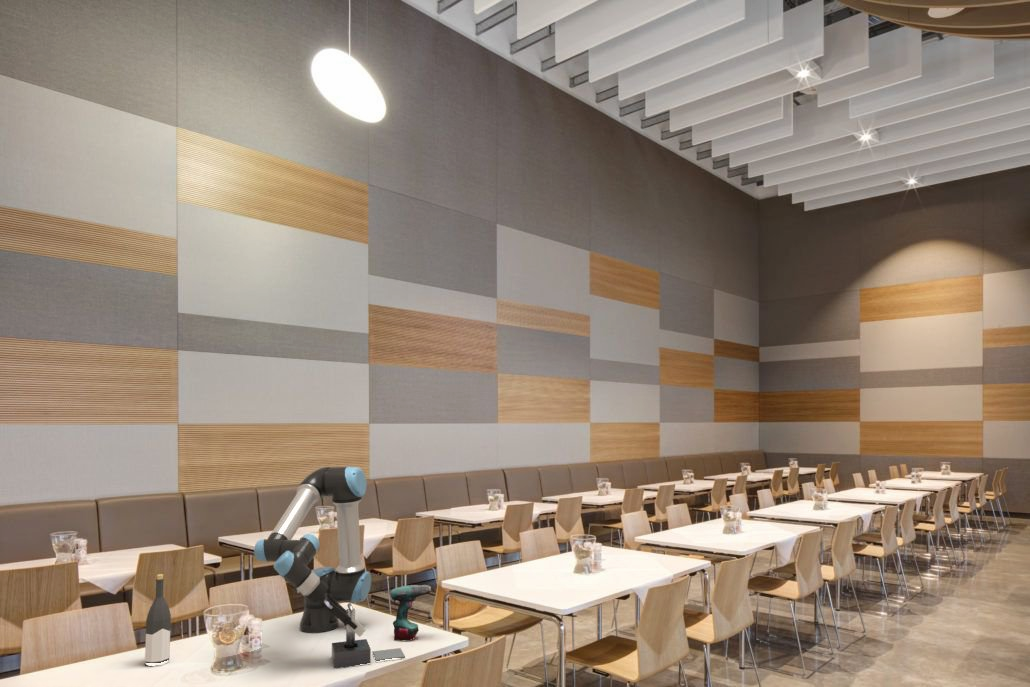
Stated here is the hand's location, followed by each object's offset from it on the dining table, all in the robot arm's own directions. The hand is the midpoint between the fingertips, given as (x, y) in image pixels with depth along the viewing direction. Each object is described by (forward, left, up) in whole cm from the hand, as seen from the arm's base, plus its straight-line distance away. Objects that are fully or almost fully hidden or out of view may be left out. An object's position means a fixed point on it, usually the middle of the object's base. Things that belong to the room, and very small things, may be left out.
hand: (361, 632), depth 249 cm
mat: (0, +9, -9) cm, 13 cm away
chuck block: (0, -4, -9) cm, 10 cm away
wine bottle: (-24, -68, -9) cm, 73 cm away
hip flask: (0, -4, -4) cm, 6 cm away
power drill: (-17, +20, -9) cm, 28 cm away
